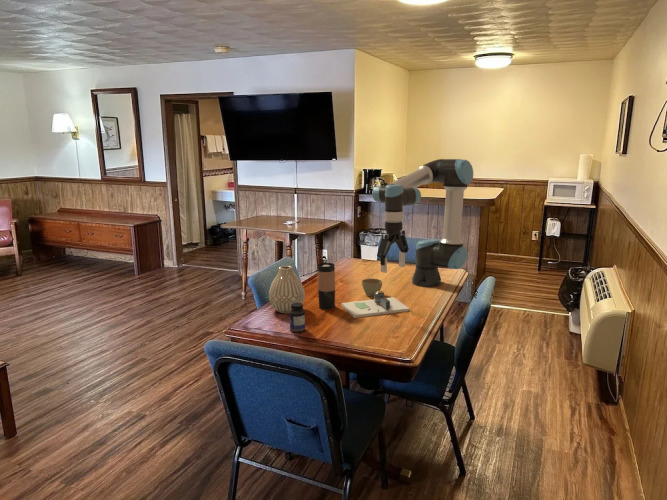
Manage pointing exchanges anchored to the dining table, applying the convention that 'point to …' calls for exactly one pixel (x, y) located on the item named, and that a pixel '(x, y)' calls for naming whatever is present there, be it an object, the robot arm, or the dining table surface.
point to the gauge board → (373, 308)
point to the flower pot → (371, 286)
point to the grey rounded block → (381, 299)
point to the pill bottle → (297, 318)
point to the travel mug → (326, 286)
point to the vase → (285, 290)
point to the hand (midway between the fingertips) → (393, 269)
